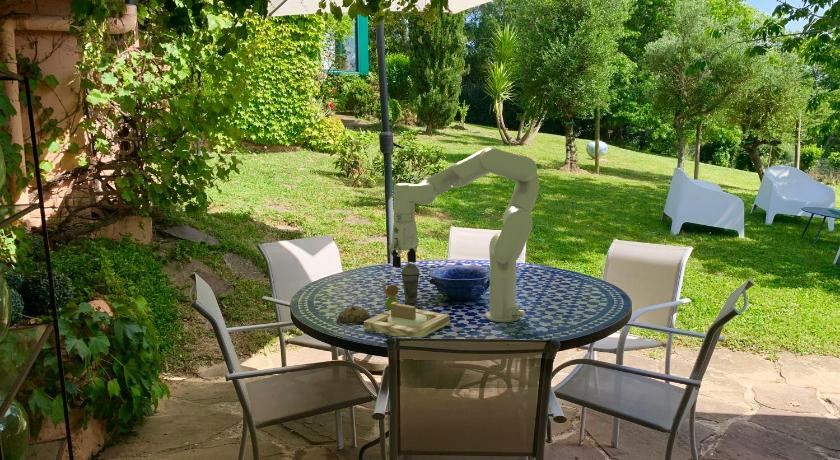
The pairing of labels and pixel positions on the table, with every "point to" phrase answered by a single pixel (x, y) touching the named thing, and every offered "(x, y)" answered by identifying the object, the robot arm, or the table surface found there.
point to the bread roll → (353, 315)
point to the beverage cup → (410, 281)
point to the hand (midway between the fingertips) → (404, 264)
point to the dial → (405, 316)
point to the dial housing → (382, 325)
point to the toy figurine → (390, 295)
